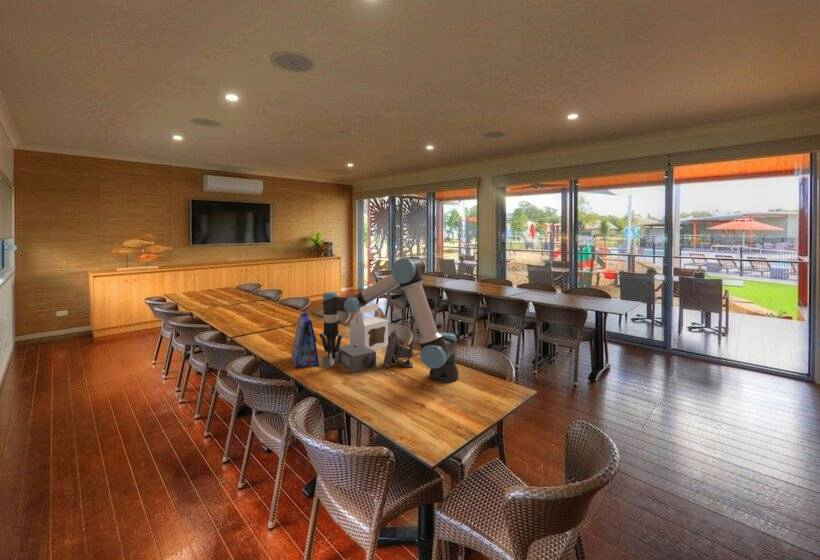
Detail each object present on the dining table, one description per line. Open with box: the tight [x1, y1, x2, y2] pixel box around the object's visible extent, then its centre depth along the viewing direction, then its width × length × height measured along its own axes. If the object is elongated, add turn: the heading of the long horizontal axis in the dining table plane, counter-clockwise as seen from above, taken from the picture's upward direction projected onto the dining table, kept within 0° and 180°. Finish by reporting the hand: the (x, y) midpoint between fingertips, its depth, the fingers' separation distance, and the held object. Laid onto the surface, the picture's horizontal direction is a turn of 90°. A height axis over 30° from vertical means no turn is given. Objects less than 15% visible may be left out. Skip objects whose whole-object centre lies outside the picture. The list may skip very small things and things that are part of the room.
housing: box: [339, 343, 377, 373], centre depth 215 cm, size 22×14×10 cm, turn 35°
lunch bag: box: [291, 311, 320, 369], centre depth 220 cm, size 22×14×29 cm, turn 22°
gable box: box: [349, 303, 389, 351], centre depth 248 cm, size 22×13×28 cm, turn 141°
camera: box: [383, 329, 415, 369], centre depth 216 cm, size 11×17×20 cm, turn 90°
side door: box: [321, 351, 341, 370], centre depth 211 cm, size 13×2×7 cm, turn 144°
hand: (332, 364), depth 208 cm, fingers closed
